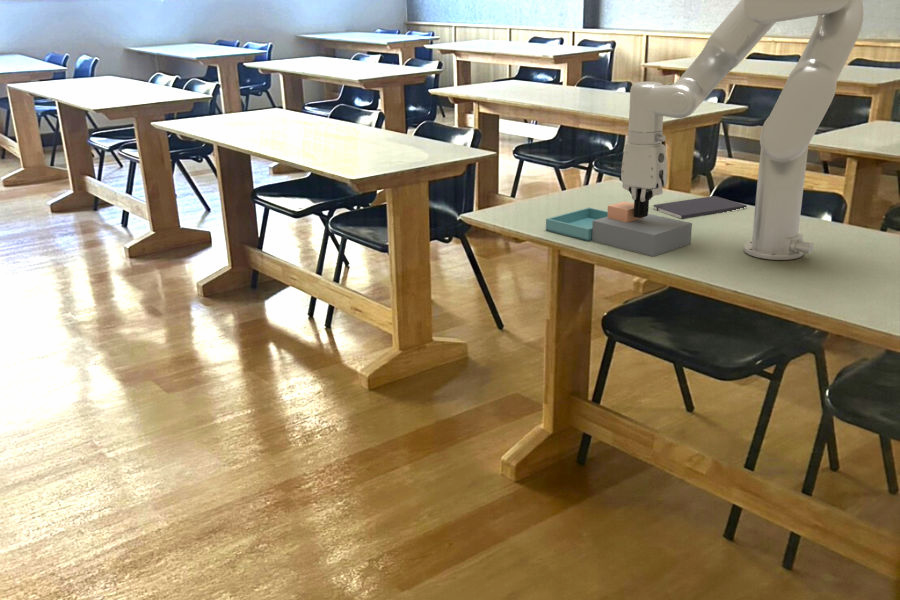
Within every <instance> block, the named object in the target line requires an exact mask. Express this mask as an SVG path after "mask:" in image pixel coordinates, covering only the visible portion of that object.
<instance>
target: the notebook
mask: <svg viewBox="0 0 900 600" xmlns="http://www.w3.org/2000/svg"><path fill="white" fill-rule="evenodd" d="M744 207H746V208H747V204H744V203H743V204H742V203H741V202H737V201H733V200H731V199H730V200H729V199H727V198H725V197H724V198H723V197H720V196H717V195H712V196H711V195H710V196H705V197H698V198H697V197H696V198H691V199H685V200H678V201H677V200H676V201H671V202H663V203H658V204H653V210H656V211H657V212H661V213H664V214H667V215H669V216H672V217H675V218H677V219H680V220H685V219H692V218H697V217H698V218H699V217H705V216H711V215H716V214H717V213H718V214H722V213H723V212H724V213H728V212H727V211H730V212H733V211H732V210H736V209H740V208H744ZM724 213H723V214H724Z"/></svg>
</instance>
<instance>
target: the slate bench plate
mask: <svg viewBox="0 0 900 600" xmlns="http://www.w3.org/2000/svg"><path fill="white" fill-rule="evenodd" d="M692 228H693V223H692V222H688V221H684V220H681V219H680V220H679V219H675V218H669V217H665V216H660V215H655V214H650V213H648V215H647V216H646V217H644V218H641V219H638V220H634V221H630V222H623V221H619V220H614V219H610V218H608V216H607V217H604V218H600V219H597V220H593V223H592V241H591V242H595V243H598V244H603V245H606V246H611V247H613V248H618V249H622V250H626V251H631V252H634V253H638V254H642V255H645V256H648V257H649V256H650V257H656V256H658V255H662V254H665V253H667V252H668V253H669V252H671V251H673V250H677V249H680V248H682V247H686V246H689V245H691V243H692Z"/></svg>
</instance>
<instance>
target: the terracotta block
mask: <svg viewBox="0 0 900 600" xmlns="http://www.w3.org/2000/svg"><path fill="white" fill-rule="evenodd" d="M607 212H608V218H610V219H614V220H619V221H623V222H630V221H634V220H638V219H641V218H638V217H634V202H628V201H621V202H617V203H613V204H609V205H607ZM643 218H644V217H643Z"/></svg>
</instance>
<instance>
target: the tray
mask: <svg viewBox="0 0 900 600" xmlns="http://www.w3.org/2000/svg"><path fill="white" fill-rule="evenodd" d="M607 216H608V210H607V211H606V210H604V209H597V208H593V207H586V208H583V209H578V210H573V211H571V212H566V213H563V214H559V215H556V216H552V217H549V218H545V231H546V232H551V233H553V234H558V235H562V236H566V237H570V238H574V239H577V240H581V241H584V242H590V241H591V242H593V241H592V223H593V220H597V219H600V218H604V217H607Z"/></svg>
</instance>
